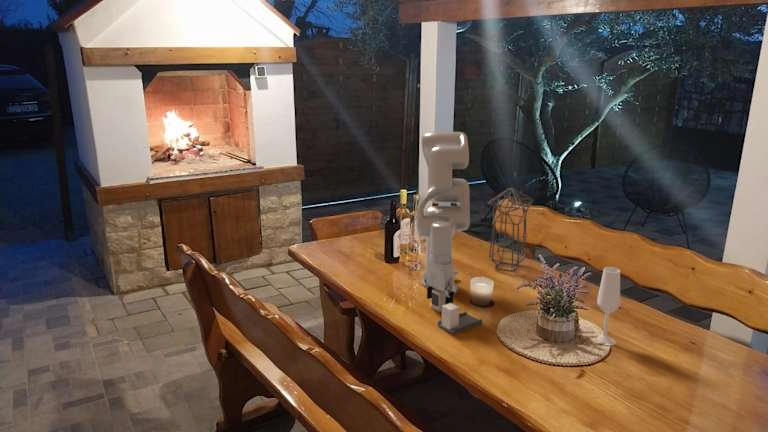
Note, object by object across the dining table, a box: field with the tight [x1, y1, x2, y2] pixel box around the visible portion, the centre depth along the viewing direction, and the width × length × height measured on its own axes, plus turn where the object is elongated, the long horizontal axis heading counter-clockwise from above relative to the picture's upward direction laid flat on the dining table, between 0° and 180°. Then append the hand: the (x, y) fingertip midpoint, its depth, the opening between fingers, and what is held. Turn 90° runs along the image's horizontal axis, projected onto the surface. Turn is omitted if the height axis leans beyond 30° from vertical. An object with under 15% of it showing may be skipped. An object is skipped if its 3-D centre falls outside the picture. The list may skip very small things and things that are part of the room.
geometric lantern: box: [486, 187, 535, 272], centre depth 243 cm, size 16×16×35 cm
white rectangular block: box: [431, 289, 447, 312], centre depth 207 cm, size 5×4×7 cm
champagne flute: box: [596, 266, 621, 347], centre depth 181 cm, size 7×7×24 cm
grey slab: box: [437, 311, 483, 336], centre depth 195 cm, size 13×8×2 cm, turn 127°
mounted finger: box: [441, 303, 460, 330], centre depth 192 cm, size 5×4×7 cm
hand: (439, 302), depth 207 cm, fingers open, 9 cm apart
